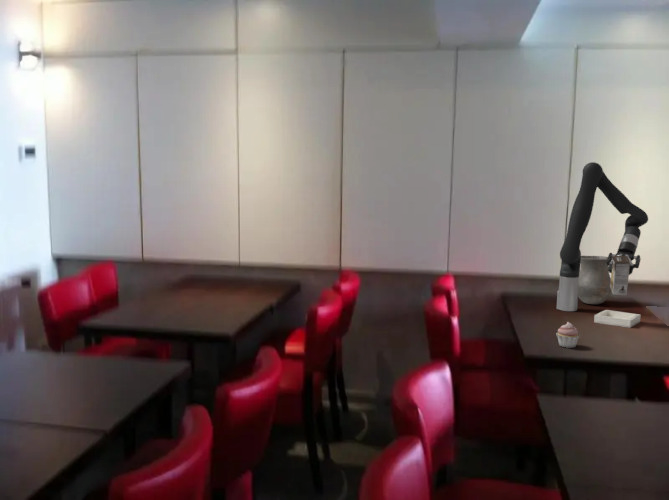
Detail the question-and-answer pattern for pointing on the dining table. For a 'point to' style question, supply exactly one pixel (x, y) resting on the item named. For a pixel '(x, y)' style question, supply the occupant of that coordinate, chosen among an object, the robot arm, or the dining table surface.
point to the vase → (594, 280)
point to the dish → (617, 318)
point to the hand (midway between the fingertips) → (619, 272)
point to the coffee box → (620, 275)
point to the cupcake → (567, 336)
